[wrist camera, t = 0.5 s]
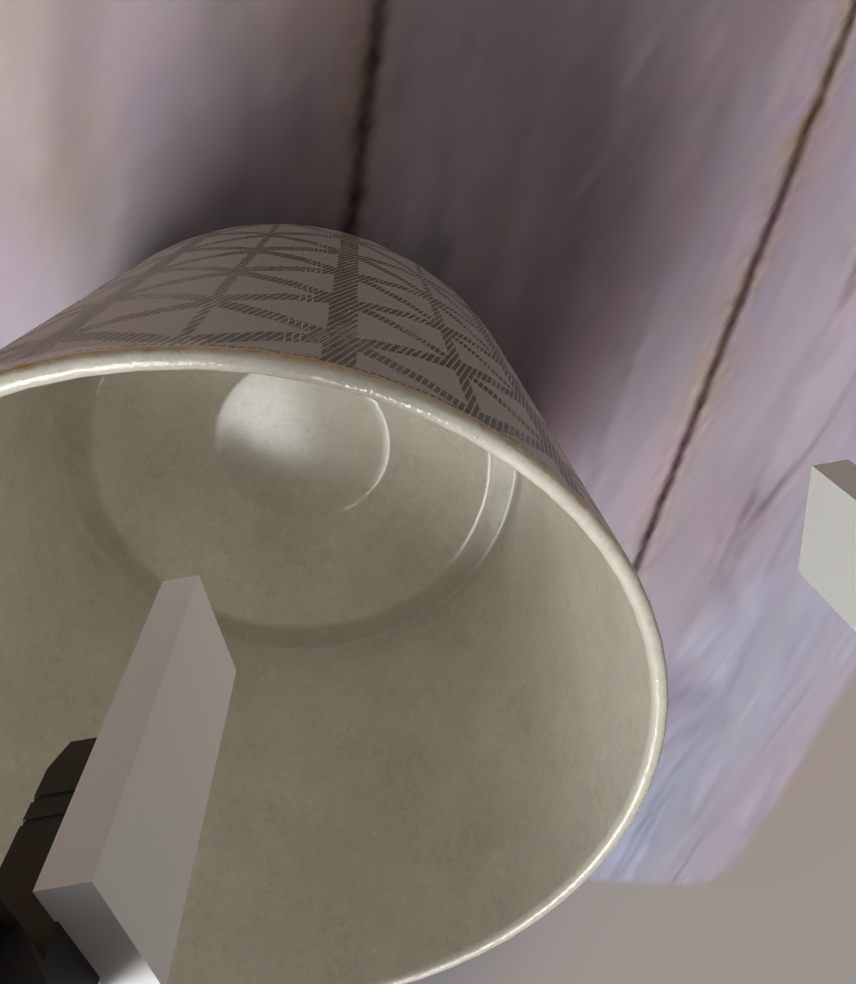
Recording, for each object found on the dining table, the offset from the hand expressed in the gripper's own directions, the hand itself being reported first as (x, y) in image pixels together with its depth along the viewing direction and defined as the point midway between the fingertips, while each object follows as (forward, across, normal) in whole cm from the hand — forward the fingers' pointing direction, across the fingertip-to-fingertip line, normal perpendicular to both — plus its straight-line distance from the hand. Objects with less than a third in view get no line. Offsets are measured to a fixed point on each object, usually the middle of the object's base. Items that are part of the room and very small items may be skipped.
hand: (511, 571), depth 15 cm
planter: (+26, -8, -7) cm, 28 cm away
